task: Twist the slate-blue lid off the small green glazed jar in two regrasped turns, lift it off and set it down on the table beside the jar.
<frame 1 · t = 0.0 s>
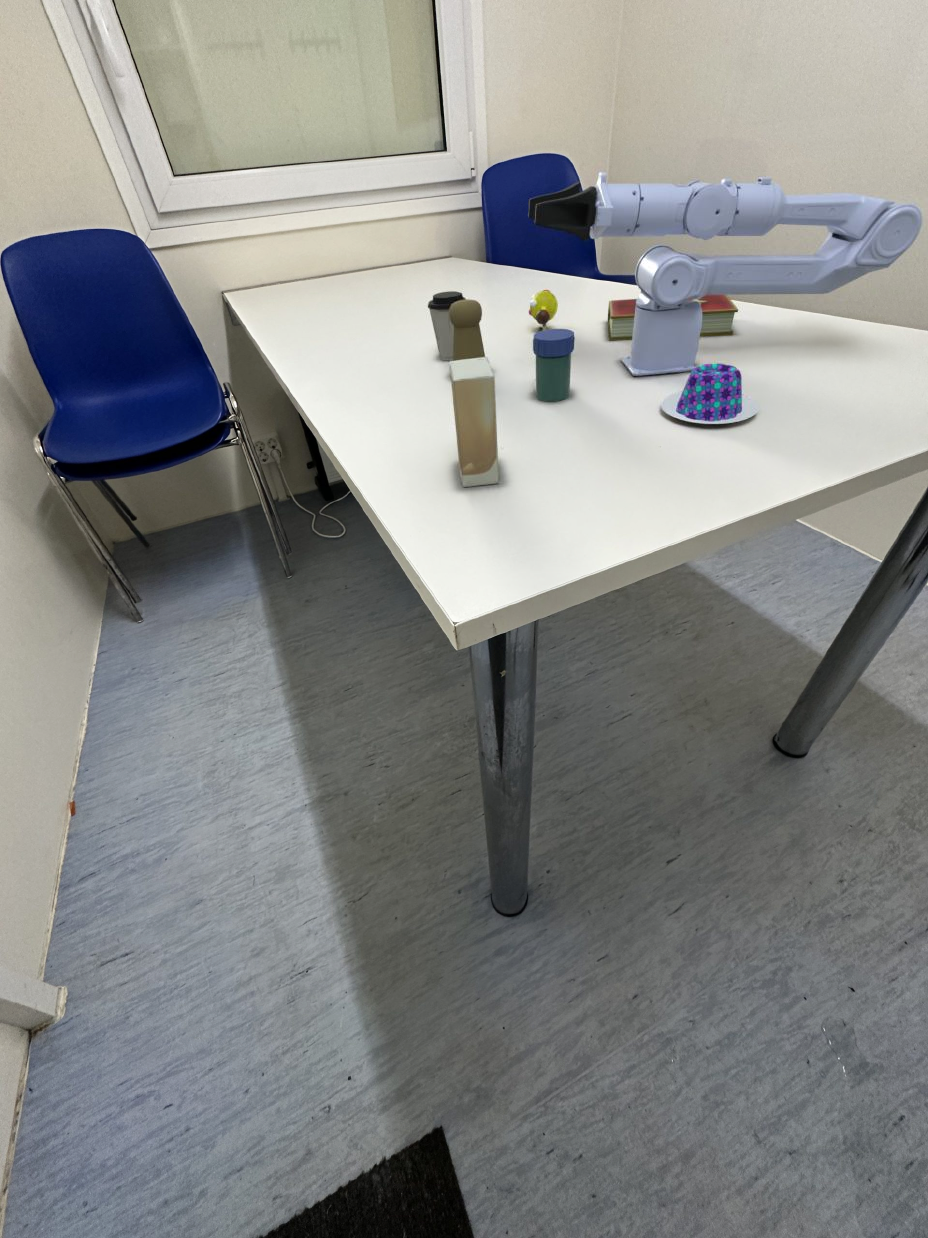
hand: (532, 211, 73), 22 cm above the table, tool horizontal, fingers open, 7 cm apart
cosmetic box: (478, 475, 65), on the table
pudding: (707, 412, 72), on the table
cork: (470, 375, 92), on the table
hardcover book: (665, 329, 101), on the table
coffee cup: (452, 357, 100), on the table
jar: (552, 395, 81), on the table
toy figure: (542, 331, 107), on the table
lid: (553, 336, 76), point 8 cm above the table, screwed on, not yet turned
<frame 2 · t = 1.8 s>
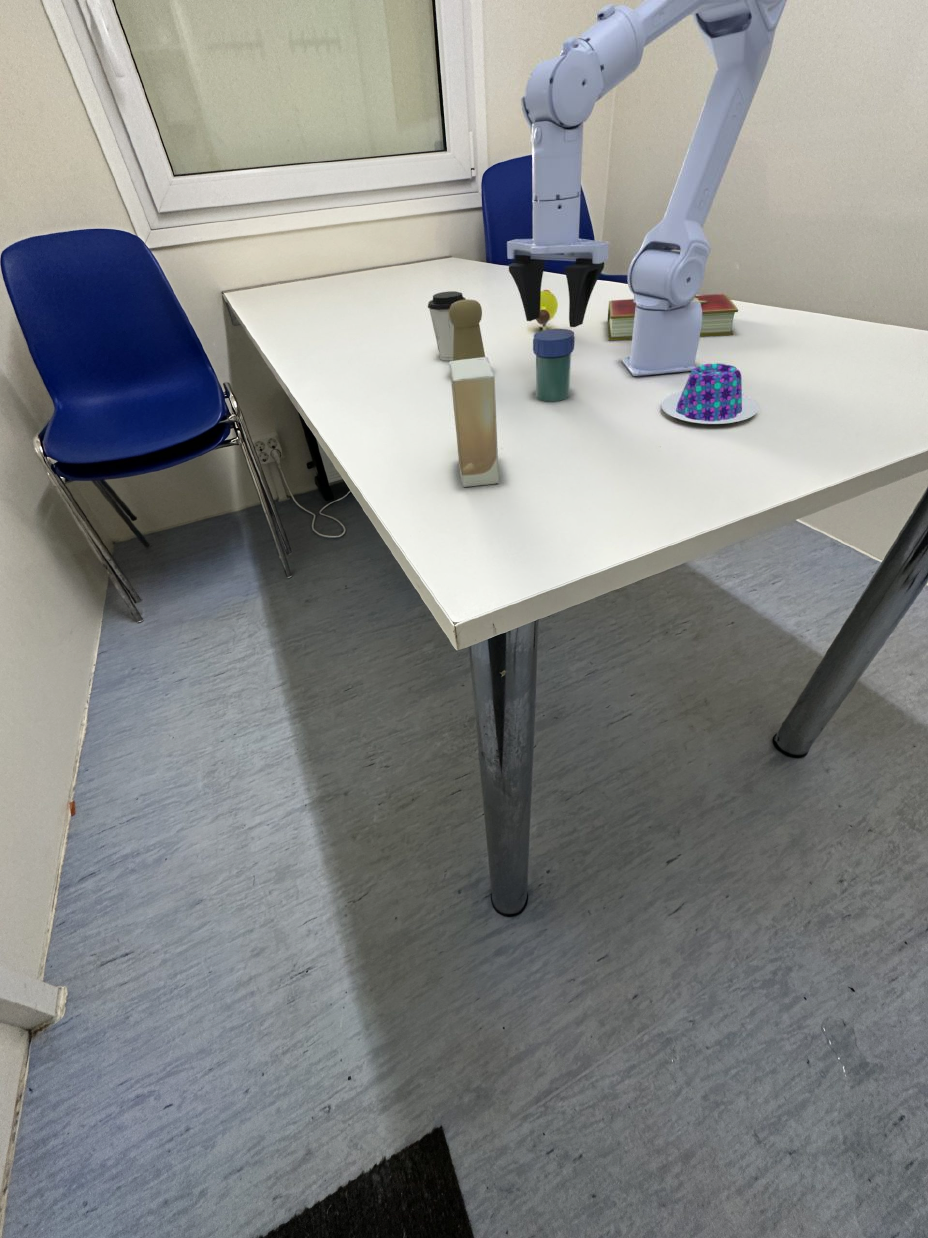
hand: (553, 322, 75), 10 cm above the table, tool pointing down, fingers open, 7 cm apart
nothing on the table moved.
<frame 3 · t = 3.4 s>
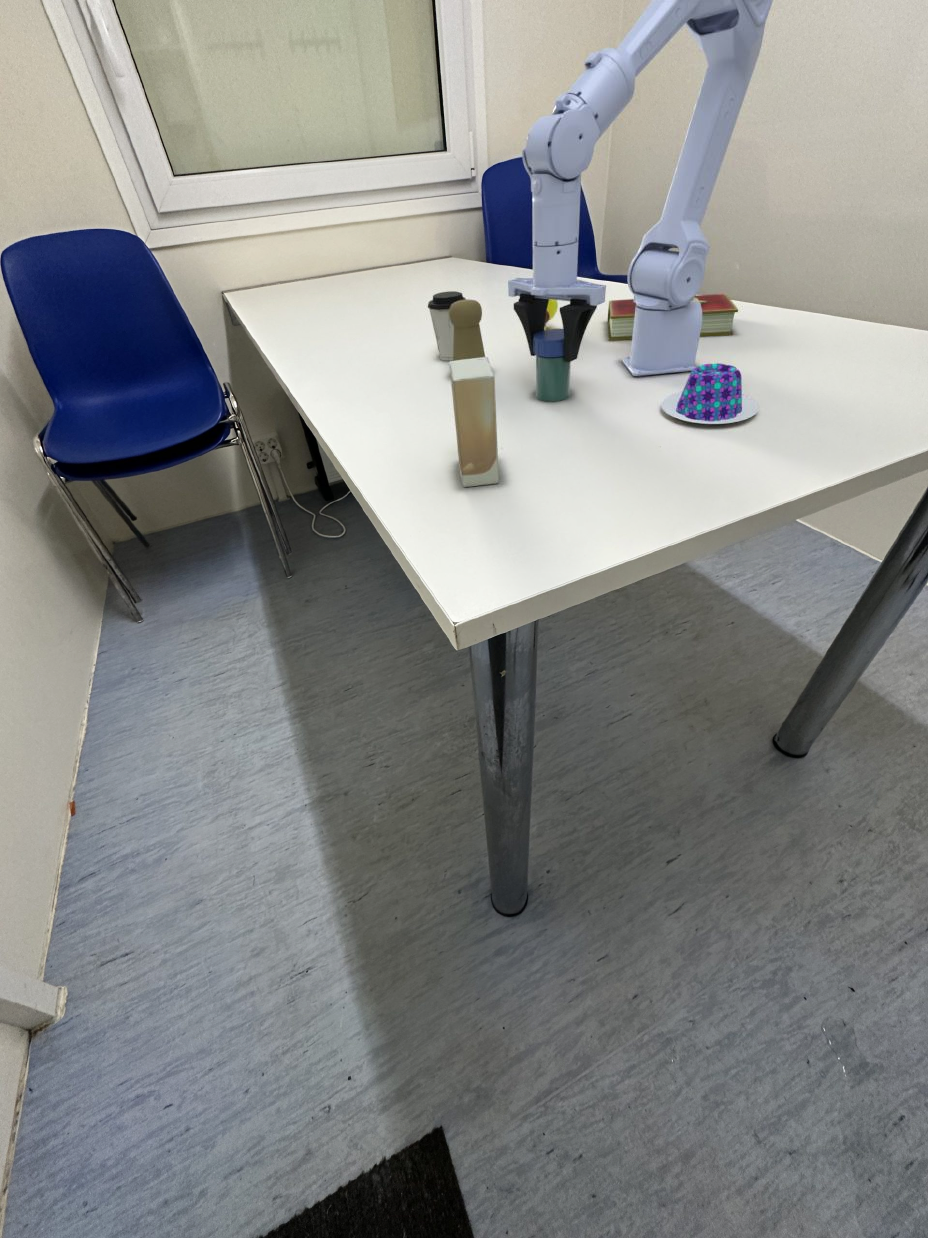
hand: (553, 356, 78), 5 cm above the table, tool pointing down, fingers closed on lid, 5 cm apart
lid: (553, 336, 76), point 8 cm above the table, screwed on, not yet turned, touching gripper
everything else where it was.
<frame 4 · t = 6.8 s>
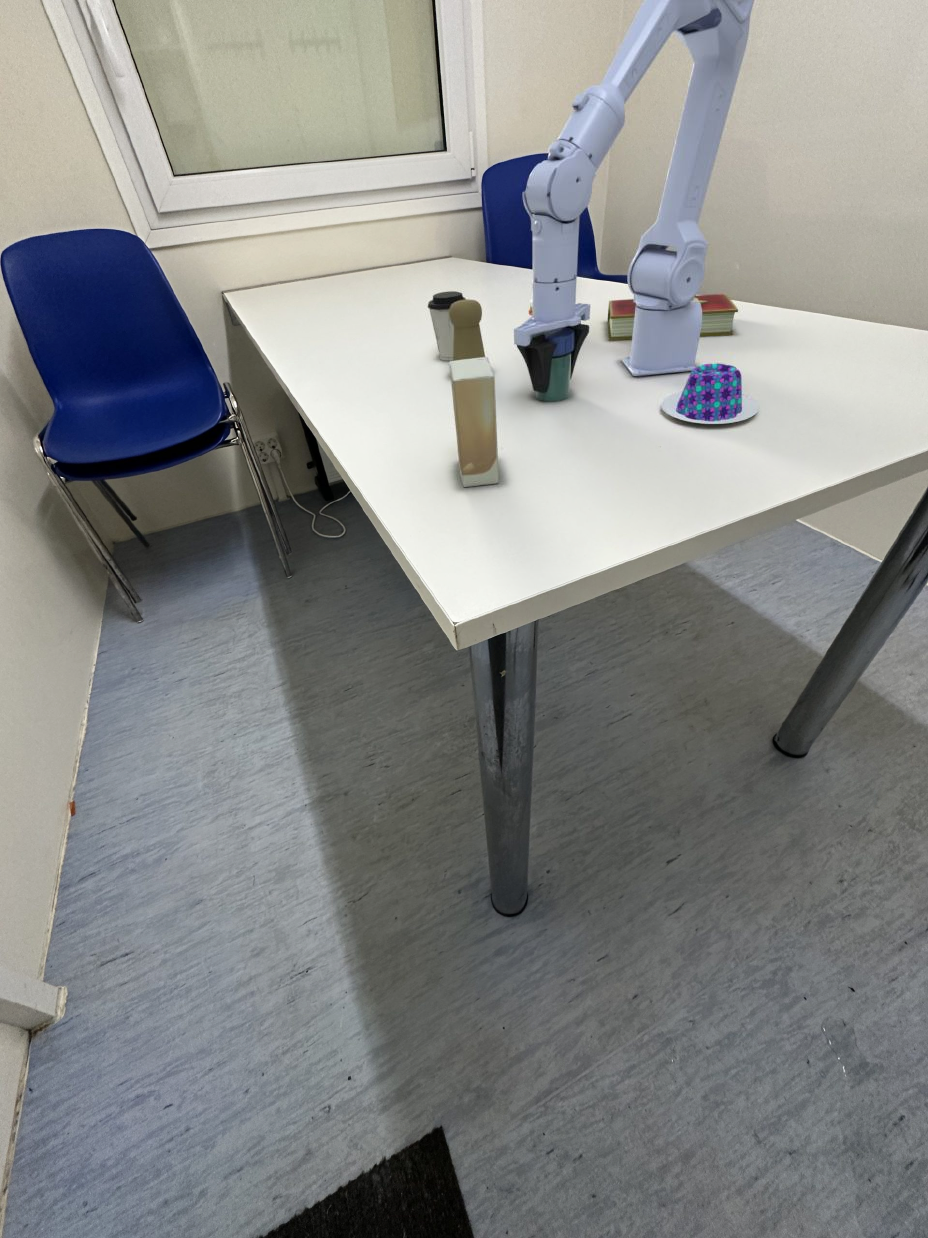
hand: (552, 385, 80), 1 cm above the table, tool pointing down, fingers closed on lid, 5 cm apart
lid: (553, 334, 76), point 8 cm above the table, turned 83° so far, risen 0.2 cm, still on its thread, touching gripper
everything else where it was.
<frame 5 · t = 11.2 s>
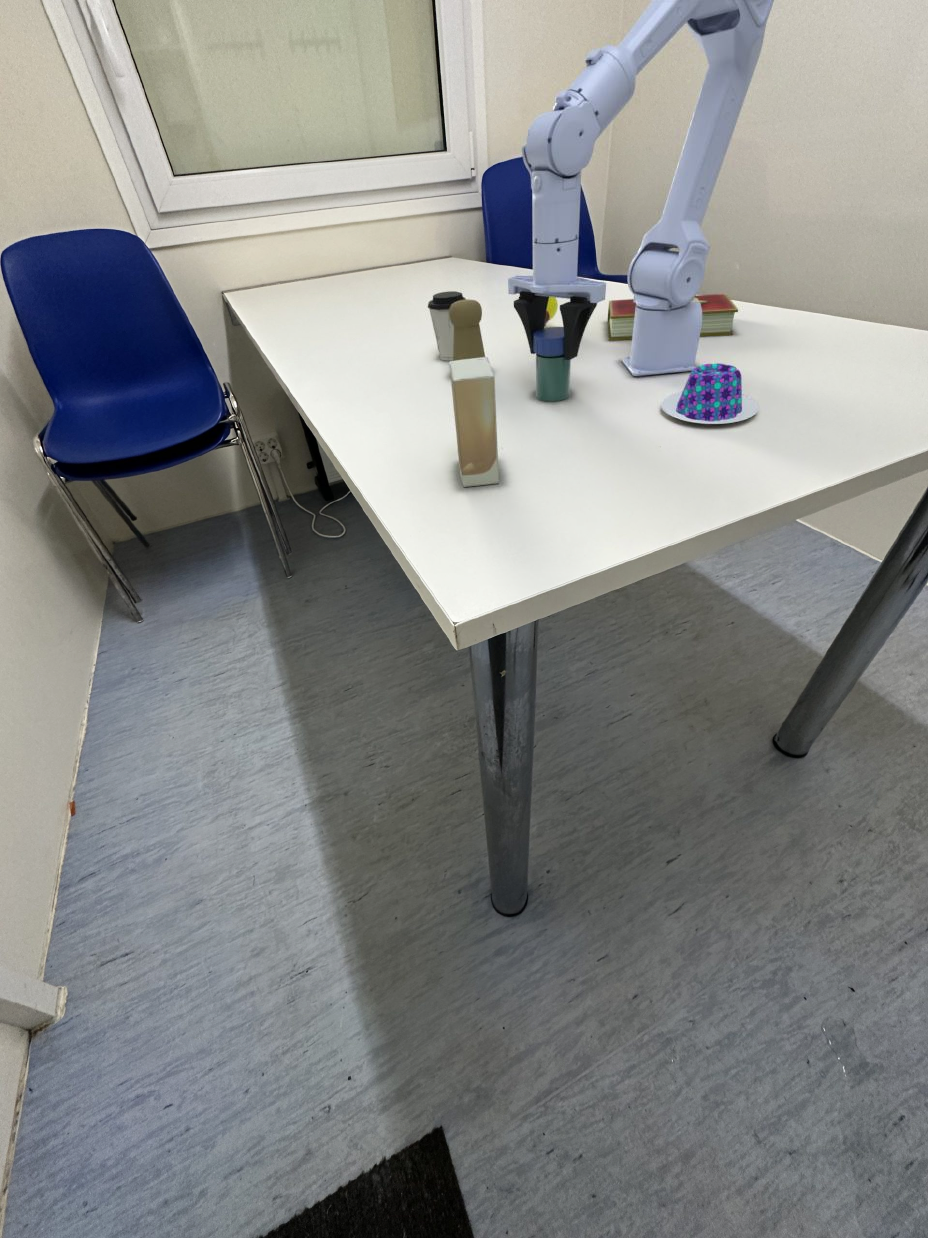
hand: (553, 354, 77), 6 cm above the table, tool pointing down, fingers closed on lid, 5 cm apart
lid: (553, 334, 76), point 8 cm above the table, turned 83° so far, risen 0.2 cm, still on its thread, touching gripper
everything else where it was.
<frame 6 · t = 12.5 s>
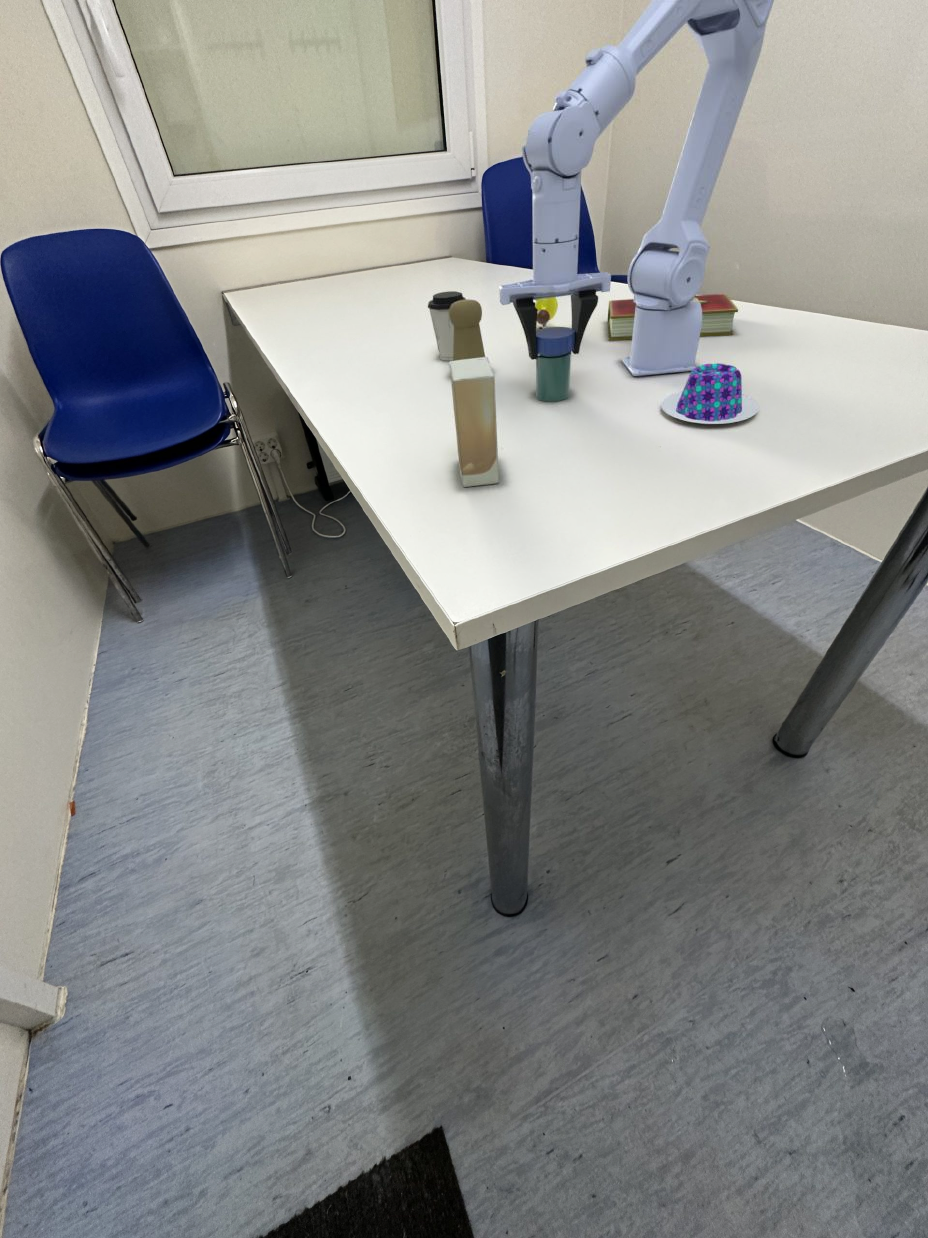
hand: (553, 354, 77), 6 cm above the table, tool pointing down, fingers closed on lid, 5 cm apart
lid: (554, 334, 76), point 8 cm above the table, off its thread, touching gripper
everything else where it was.
when the fingers open (0 cm above the table, at t = 18.5 s): lid moves 2 cm, point 3 cm above the table.
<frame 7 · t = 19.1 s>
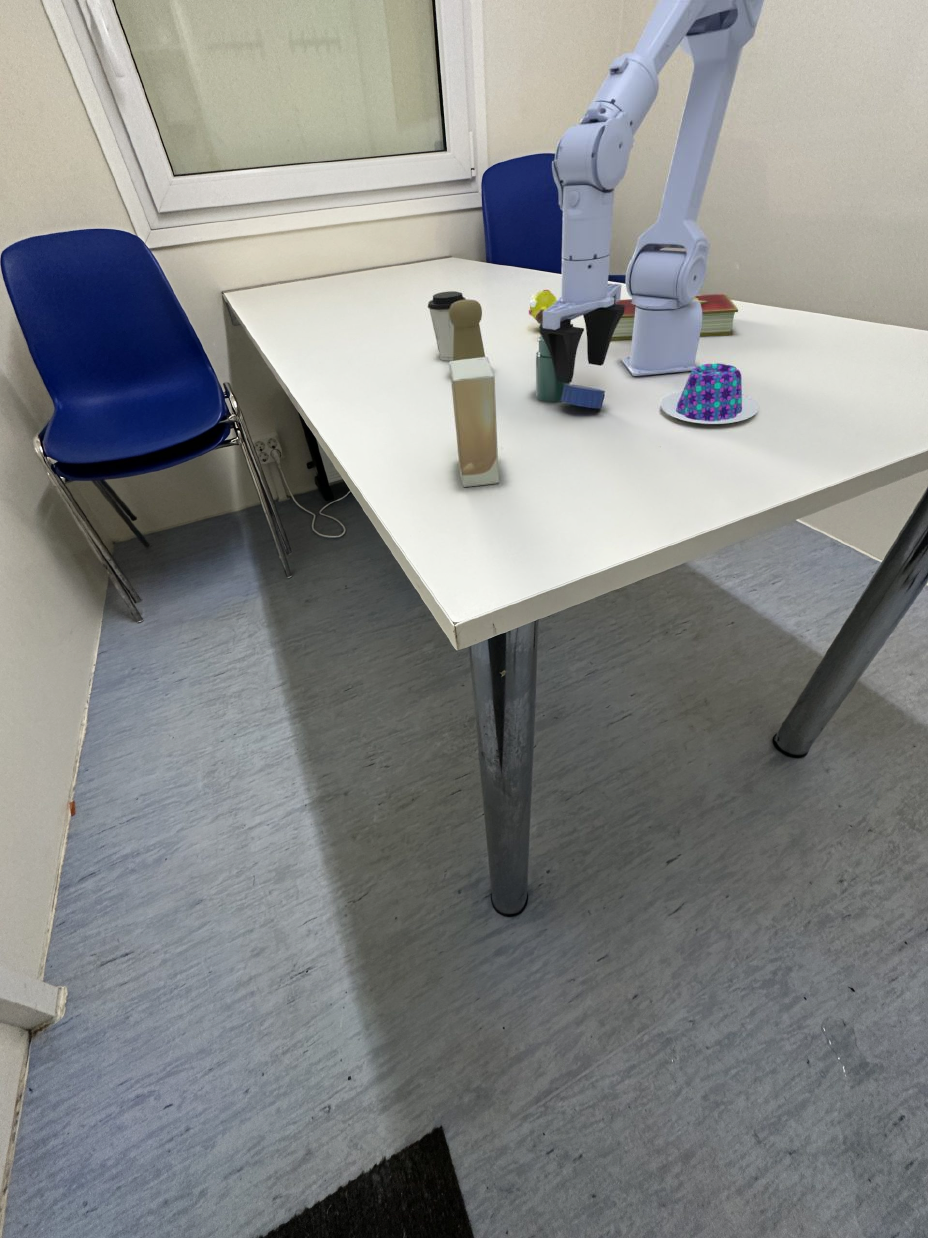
hand: (580, 372, 75), 4 cm above the table, tool pointing down, fingers open, 7 cm apart
lid: (584, 389, 74), point 3 cm above the table, tilted 19°, off its thread
everything else where it was.
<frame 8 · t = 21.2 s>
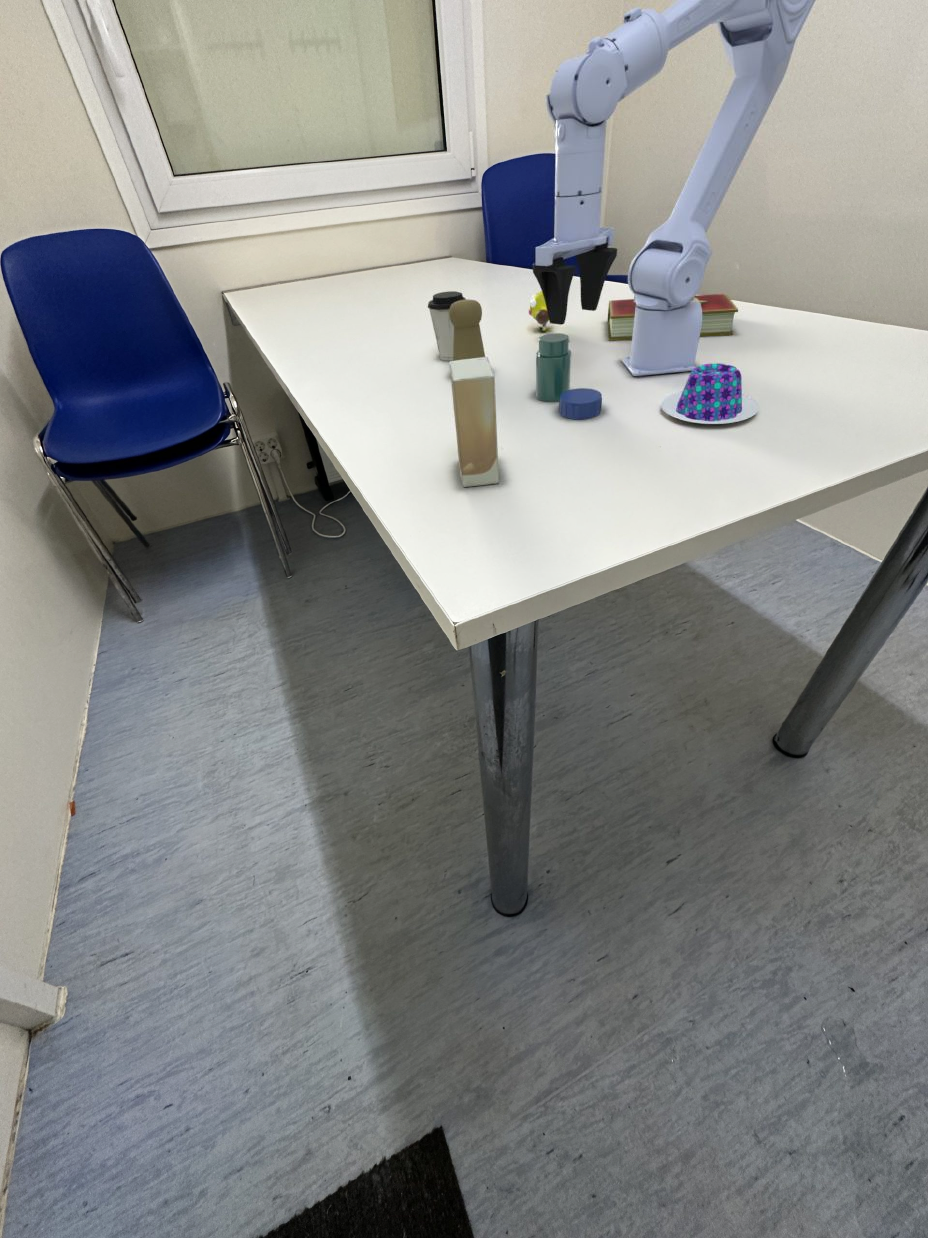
hand: (573, 316, 76), 10 cm above the table, tool pointing down, fingers open, 7 cm apart
lid: (580, 397, 75), point 2 cm above the table, off its thread
everything else where it was.
at the end: lid came off its thread; lid point 1.9 cm above the table; the gripper is holding nothing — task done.
